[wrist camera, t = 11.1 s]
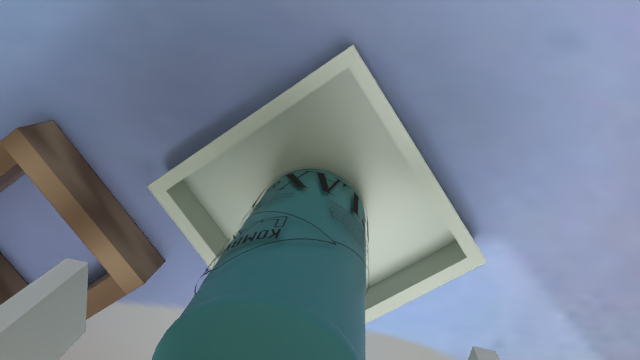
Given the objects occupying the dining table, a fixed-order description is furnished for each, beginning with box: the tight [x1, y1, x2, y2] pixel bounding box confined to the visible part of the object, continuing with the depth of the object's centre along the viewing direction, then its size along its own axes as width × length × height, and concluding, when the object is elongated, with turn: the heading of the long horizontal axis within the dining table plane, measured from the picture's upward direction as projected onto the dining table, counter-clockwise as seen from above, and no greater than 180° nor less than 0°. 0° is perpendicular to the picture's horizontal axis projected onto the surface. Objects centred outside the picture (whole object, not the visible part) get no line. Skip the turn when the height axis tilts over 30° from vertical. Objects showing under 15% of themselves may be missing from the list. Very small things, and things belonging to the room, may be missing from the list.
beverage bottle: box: [152, 167, 370, 360], centre depth 17 cm, size 6×7×20 cm
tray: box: [147, 45, 487, 324], centre depth 26 cm, size 14×14×3 cm
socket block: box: [0, 121, 165, 319], centre depth 28 cm, size 12×12×3 cm
